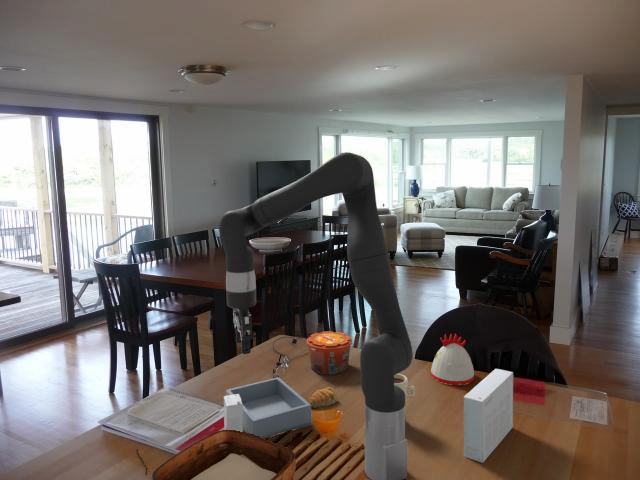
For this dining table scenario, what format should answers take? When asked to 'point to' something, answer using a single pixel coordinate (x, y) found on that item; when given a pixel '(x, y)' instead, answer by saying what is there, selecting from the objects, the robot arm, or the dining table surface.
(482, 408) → the skincare box
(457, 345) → the chicken hat
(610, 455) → the dining table surface
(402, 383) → the character mug
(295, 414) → the tote
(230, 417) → the skincare box
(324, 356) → the food container
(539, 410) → the dining table surface
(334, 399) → the pastry
